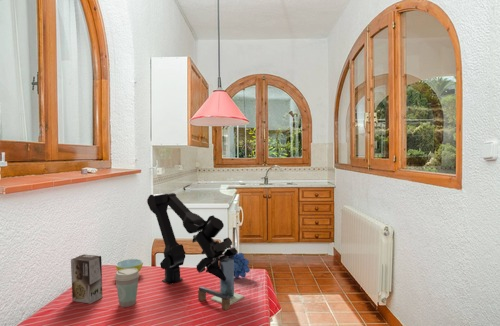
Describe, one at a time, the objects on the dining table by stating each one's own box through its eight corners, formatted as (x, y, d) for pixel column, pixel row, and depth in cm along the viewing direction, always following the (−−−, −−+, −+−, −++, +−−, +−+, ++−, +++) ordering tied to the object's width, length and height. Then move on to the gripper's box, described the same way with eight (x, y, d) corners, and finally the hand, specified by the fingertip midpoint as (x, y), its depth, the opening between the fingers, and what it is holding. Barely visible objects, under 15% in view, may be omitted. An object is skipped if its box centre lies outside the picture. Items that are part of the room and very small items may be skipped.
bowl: (134, 282, 142) (134, 267, 142) (110, 280, 144) (110, 266, 144) (147, 272, 153) (147, 259, 153) (125, 271, 155) (125, 258, 155)
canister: (218, 296, 123) (218, 262, 122) (222, 291, 128) (222, 258, 127) (231, 298, 121) (231, 263, 121) (235, 292, 126) (235, 258, 126)
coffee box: (103, 297, 127) (102, 255, 127) (90, 304, 121) (89, 260, 120) (85, 294, 130) (83, 253, 130) (71, 301, 124) (70, 258, 123)
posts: (198, 299, 123) (198, 290, 123) (202, 297, 125) (202, 288, 125) (226, 310, 115) (225, 300, 115) (229, 308, 116) (229, 298, 116)
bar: (198, 290, 124) (198, 287, 124) (201, 289, 125) (201, 286, 125) (226, 299, 115) (226, 296, 115) (228, 298, 116) (228, 295, 116)
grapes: (221, 280, 142) (221, 253, 142) (225, 274, 149) (225, 248, 149) (248, 282, 140) (247, 254, 140) (250, 276, 147) (250, 249, 146)
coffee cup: (115, 300, 123) (114, 269, 123) (138, 296, 127) (138, 266, 126) (115, 310, 116) (114, 277, 115) (140, 306, 119) (140, 273, 119)
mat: (210, 299, 124) (210, 298, 124) (226, 291, 131) (226, 290, 131) (228, 305, 118) (228, 304, 118) (244, 297, 125) (244, 295, 125)
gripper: (201, 237, 119) (225, 273, 112) (233, 227, 134) (256, 259, 128) (186, 255, 123) (208, 291, 117) (219, 243, 139) (240, 275, 132)
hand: (229, 278), depth 124 cm, fingers closed on canister, 5 cm apart
